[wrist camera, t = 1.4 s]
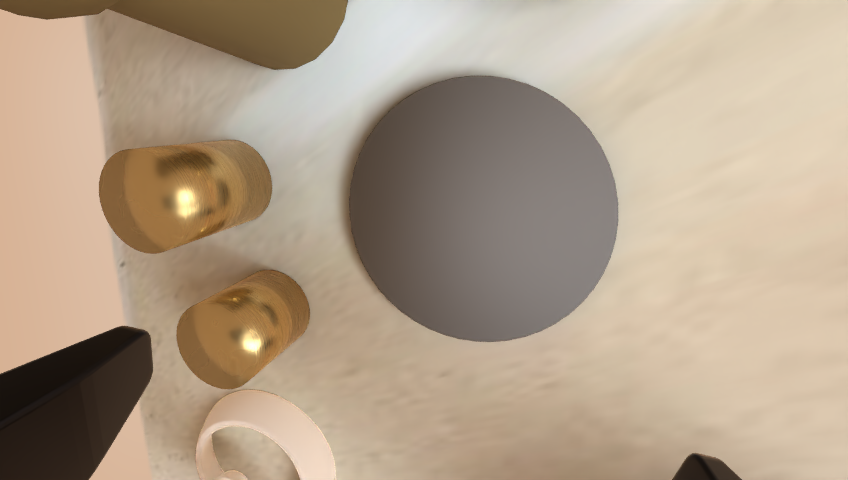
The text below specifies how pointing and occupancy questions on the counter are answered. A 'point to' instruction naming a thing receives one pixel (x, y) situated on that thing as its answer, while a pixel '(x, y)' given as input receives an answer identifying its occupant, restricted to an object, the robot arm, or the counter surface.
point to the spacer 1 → (182, 192)
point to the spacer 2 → (242, 328)
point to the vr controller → (275, 423)
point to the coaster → (483, 208)
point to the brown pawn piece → (220, 23)
